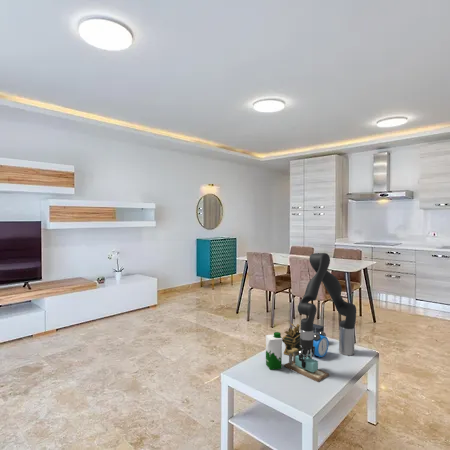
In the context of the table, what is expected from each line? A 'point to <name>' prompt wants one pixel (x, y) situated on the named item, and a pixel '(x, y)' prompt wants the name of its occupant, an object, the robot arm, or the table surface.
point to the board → (291, 365)
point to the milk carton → (274, 351)
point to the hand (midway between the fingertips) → (306, 366)
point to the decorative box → (292, 339)
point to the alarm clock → (320, 344)
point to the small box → (317, 328)
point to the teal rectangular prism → (307, 364)
